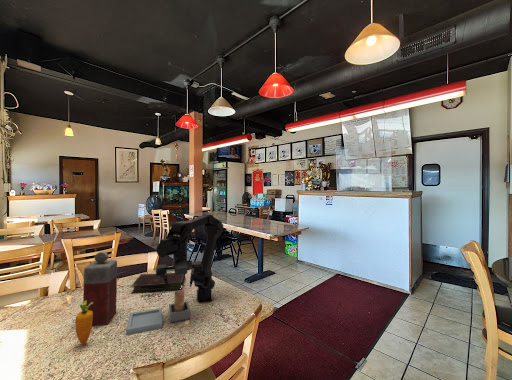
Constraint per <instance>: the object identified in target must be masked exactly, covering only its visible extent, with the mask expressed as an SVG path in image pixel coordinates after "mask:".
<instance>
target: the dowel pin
mask: <svg viewBox="0 0 512 380" xmlns="http://www.w3.org/2000/svg"><path fill="white" fill-rule="evenodd" d="M184 302H185V290H183V289H182V290H178V291H174V303H173V304H174V312H176V311H182V310H184Z"/></svg>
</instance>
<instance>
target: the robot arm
mask: <svg viewBox="0 0 512 380" xmlns="http://www.w3.org/2000/svg"><path fill="white" fill-rule="evenodd" d="M203 226H204V227H205V229H206V230H205V232H206V237H207V239H206V242H205V246H204V250H203V255H202V258H201V261H199V260H197V261H193V260H188V241H190V240H191V236H189V235H190V234H192V233H193V230H195V229H197V228H198V229H199V228H200V227H203ZM223 230H224V223H223V222H222V221H221V220H219V219H217V218H216V217H214V216H213V215H212V214H209V213H206V214H205V213H204V214H202V215H200V216H197V217H195V218H191V219H189V220H184V221H175V222H173V223H172V225H171V226H170V229H169V230H168V233H167V234H166V236H165V239H164V238H162V239H160V242H159V243H158V244H157V246H156V248H155V250H156V254H157V256H158V257H160V258H166V257H169V256H172V258H173V259H172V265H171V266H170V265H169V266H167V264H166V263H165V264H158V265H156V267H155V274H156V276H159V277H162V278H163V279H164V281H165V284H166V287H167V290H168V288H169V286H168V277H167V273H168V272H174V273H175V275H179V274H185V275H187V274H188V271H190V277H189V287H190V288H191V287H192V286H193V283H194V286H195V287H196V288H197V289H196V300H197V301H198V303H199V304H201V303H207V302H211V301H213V298H212V290H213V289H214V288H215V285H216V282H215V280H214V279H213V272H212V268H211V266H212V263H213V262H212V261H213V258H214V253H215V250H216V245H217V240H218V239H219V237H220V236H221V235H222V233H223Z"/></svg>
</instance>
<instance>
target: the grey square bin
mask: <svg viewBox="0 0 512 380" xmlns="http://www.w3.org/2000/svg"><path fill="white" fill-rule="evenodd" d="M168 320H169V324H173V323H180V322H184V321H189V320H191V309H190V305H189V301H184V310H182V311H176V312H174V303H171V304H168Z"/></svg>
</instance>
